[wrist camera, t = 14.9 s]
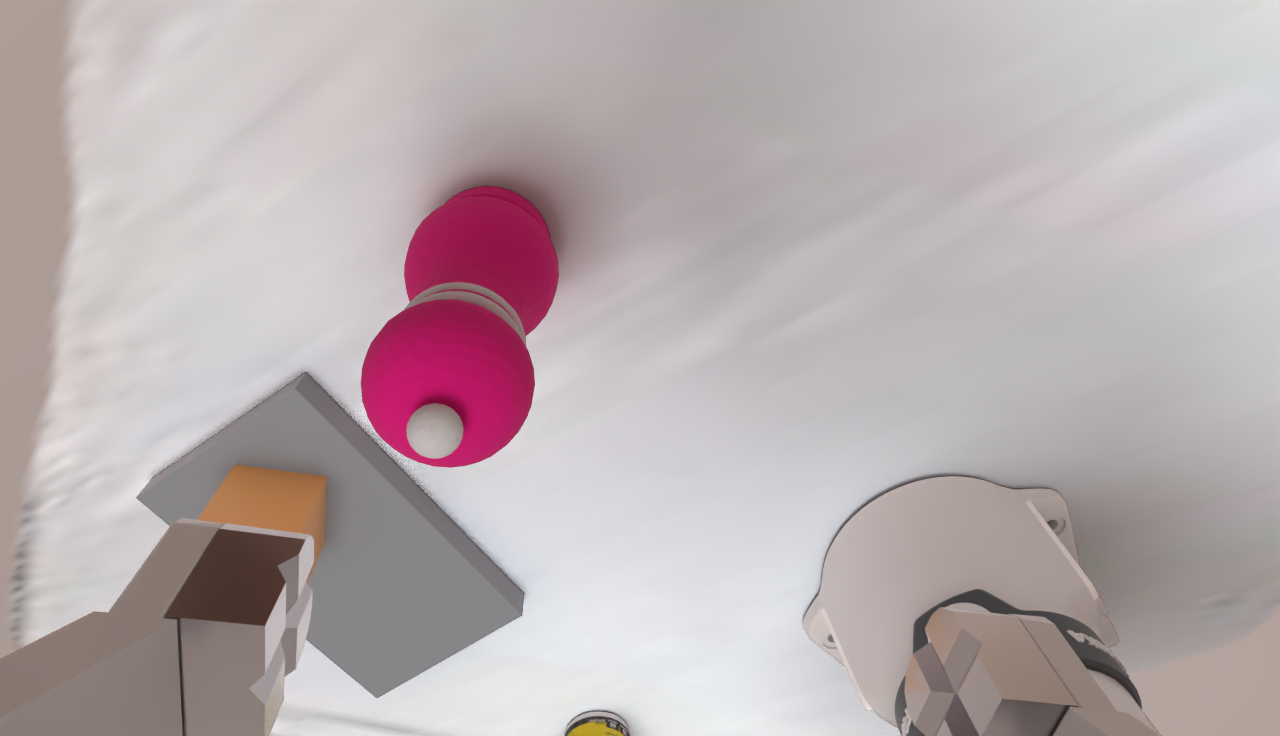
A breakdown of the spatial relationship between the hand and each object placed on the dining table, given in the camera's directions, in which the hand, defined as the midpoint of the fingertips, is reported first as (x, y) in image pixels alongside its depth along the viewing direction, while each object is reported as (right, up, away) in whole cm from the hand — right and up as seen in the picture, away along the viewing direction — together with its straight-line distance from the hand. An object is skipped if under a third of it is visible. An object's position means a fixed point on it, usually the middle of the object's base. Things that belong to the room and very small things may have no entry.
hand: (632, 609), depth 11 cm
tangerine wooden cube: (-21, -5, +37) cm, 43 cm away
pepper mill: (-8, +10, +33) cm, 35 cm away
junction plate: (-18, -8, +41) cm, 45 cm away
